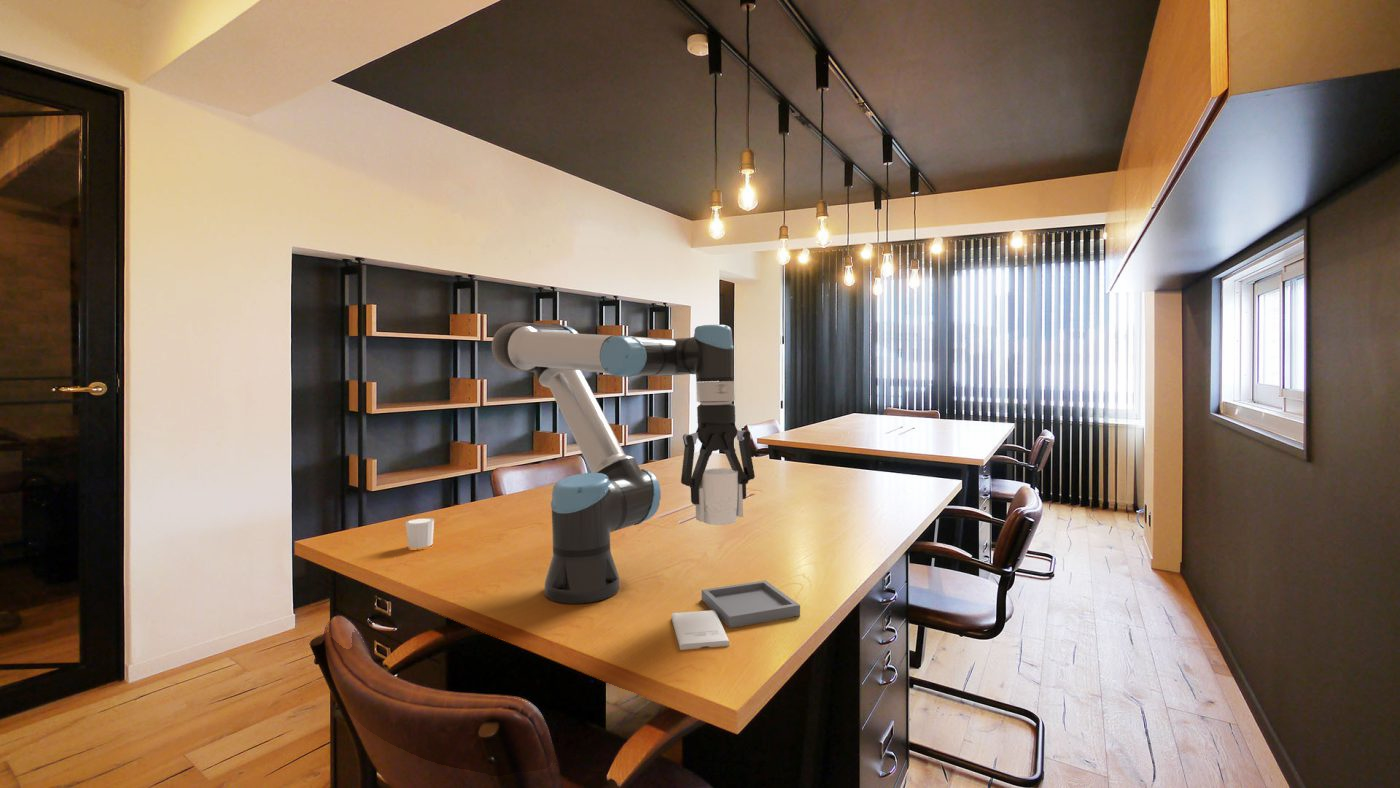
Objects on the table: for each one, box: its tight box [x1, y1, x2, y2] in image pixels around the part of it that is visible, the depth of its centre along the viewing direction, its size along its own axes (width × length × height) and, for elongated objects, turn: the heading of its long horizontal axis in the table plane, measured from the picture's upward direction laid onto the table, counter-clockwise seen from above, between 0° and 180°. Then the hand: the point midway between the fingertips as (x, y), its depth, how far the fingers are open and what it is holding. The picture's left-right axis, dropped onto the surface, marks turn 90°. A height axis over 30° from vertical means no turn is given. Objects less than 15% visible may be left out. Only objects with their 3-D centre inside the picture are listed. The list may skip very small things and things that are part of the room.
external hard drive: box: [671, 609, 730, 651], centre depth 105 cm, size 2×8×12 cm
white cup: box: [699, 467, 738, 526], centre depth 120 cm, size 8×8×10 cm
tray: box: [701, 580, 801, 629], centre depth 115 cm, size 14×14×2 cm
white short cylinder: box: [405, 517, 435, 548], centre depth 157 cm, size 7×7×7 cm
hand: (719, 517), depth 120 cm, fingers closed on white cup, 8 cm apart
